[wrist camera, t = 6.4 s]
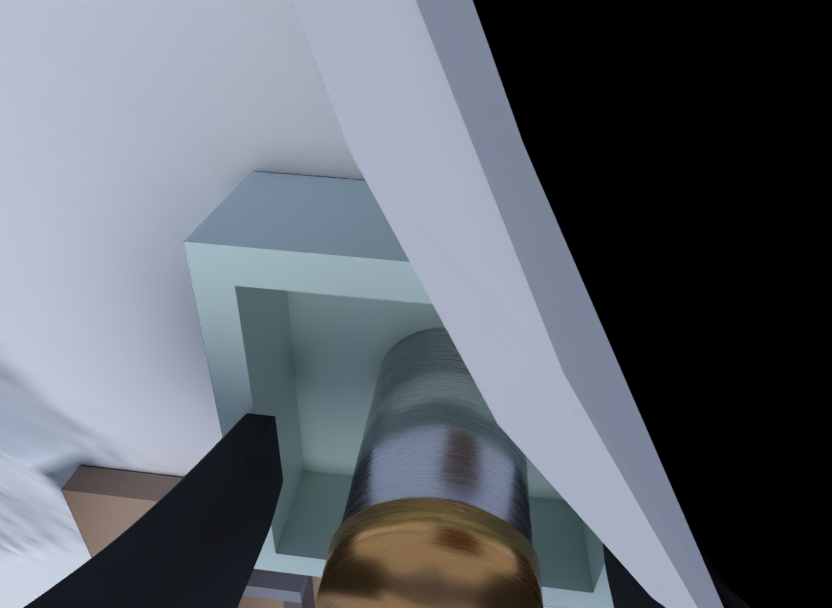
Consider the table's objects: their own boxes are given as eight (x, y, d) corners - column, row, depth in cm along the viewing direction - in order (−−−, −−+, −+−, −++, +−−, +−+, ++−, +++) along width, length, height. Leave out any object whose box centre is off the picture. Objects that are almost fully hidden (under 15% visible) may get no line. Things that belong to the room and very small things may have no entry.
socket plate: (375, 500, 18) (362, 562, 17) (374, 655, 24) (364, 715, 22) (79, 465, 19) (36, 522, 17) (144, 624, 25) (116, 680, 23)
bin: (694, 206, 12) (759, 292, 9) (596, 500, 17) (618, 614, 14) (252, 171, 13) (183, 241, 10) (287, 465, 18) (248, 567, 15)
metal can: (503, 450, 16) (510, 697, 11) (366, 423, 16) (307, 656, 10) (544, 341, 13) (577, 583, 8) (385, 309, 13) (324, 532, 8)
